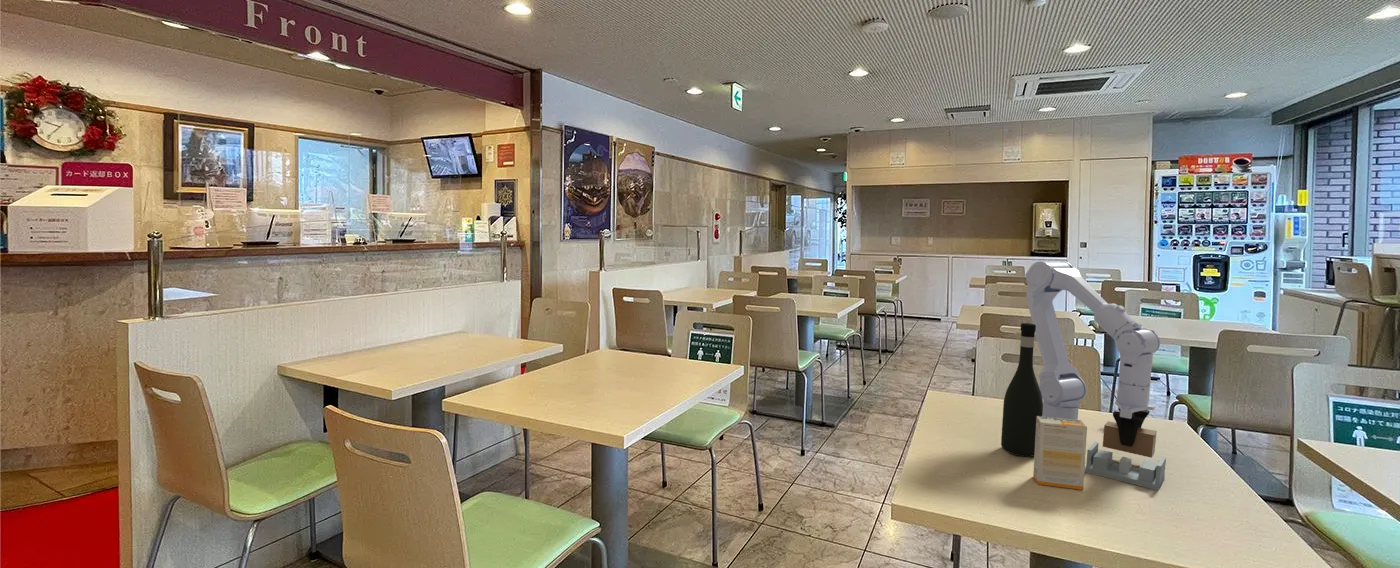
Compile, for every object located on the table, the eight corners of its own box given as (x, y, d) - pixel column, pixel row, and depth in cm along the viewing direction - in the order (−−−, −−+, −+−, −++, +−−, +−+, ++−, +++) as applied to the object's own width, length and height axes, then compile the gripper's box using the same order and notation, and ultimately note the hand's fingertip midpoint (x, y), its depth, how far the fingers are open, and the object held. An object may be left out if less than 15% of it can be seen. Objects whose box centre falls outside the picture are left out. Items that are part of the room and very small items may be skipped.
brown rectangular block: (1102, 446, 137) (1104, 425, 136) (1106, 442, 140) (1108, 421, 139) (1151, 457, 131) (1153, 435, 130) (1154, 453, 134) (1156, 431, 133)
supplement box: (1077, 481, 124) (1081, 419, 123) (1083, 491, 119) (1088, 426, 118) (1031, 475, 127) (1036, 414, 125) (1036, 484, 122) (1040, 421, 121)
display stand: (1085, 472, 129) (1086, 450, 129) (1093, 462, 135) (1095, 441, 134) (1158, 490, 120) (1160, 467, 120) (1164, 479, 126) (1166, 456, 126)
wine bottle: (1012, 443, 146) (1020, 320, 144) (1046, 453, 140) (1055, 324, 137) (993, 449, 142) (1001, 322, 139) (1027, 460, 135) (1036, 327, 133)
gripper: (1151, 392, 126) (1145, 456, 127) (1161, 381, 136) (1155, 439, 138) (1110, 386, 131) (1105, 447, 132) (1123, 375, 141) (1118, 431, 142)
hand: (1128, 442), depth 135 cm, fingers closed on brown rectangular block, 4 cm apart
